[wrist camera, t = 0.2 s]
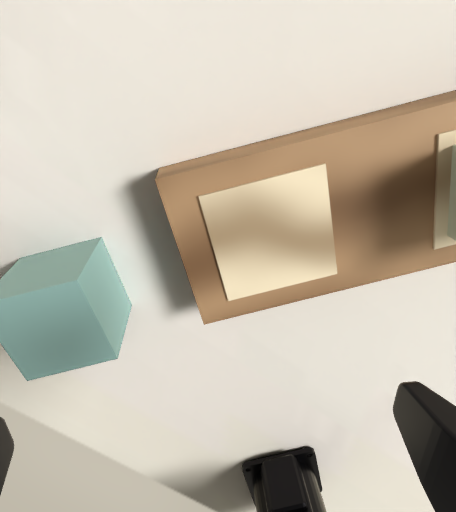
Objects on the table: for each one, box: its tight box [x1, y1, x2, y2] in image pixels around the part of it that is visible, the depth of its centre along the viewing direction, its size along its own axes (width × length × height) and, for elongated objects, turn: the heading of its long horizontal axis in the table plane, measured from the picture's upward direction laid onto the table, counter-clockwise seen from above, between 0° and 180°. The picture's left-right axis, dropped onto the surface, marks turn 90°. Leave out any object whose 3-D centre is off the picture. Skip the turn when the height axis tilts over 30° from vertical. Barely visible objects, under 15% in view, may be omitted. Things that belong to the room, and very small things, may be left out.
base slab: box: [155, 90, 456, 324], centre depth 20 cm, size 9×22×3 cm, turn 103°
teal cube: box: [0, 237, 132, 381], centre depth 20 cm, size 5×5×5 cm
